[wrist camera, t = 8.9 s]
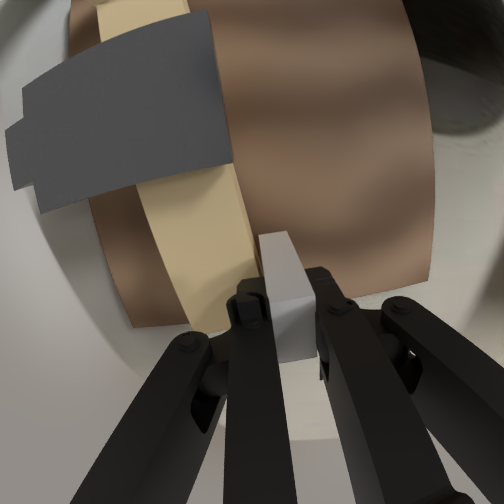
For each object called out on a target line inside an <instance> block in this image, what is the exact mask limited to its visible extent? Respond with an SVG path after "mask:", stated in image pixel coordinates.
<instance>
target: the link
mask: <svg viewBox="0 0 504 504" xmlns="http://www.w3.org/2000/svg"><path fill="white" fill-rule="evenodd" d="M87 1H88V2H89V3H91V4H92V5H93V6H95V7H96V8H97V15H98V23H99V31H100V38H101V43H102V42H104V41H106V40H108V39H111V38H113V37H115V36H118V35H120V34H123V33H125V32H128V31H131V30H133V29H136V28H139V27H142V26H145V25H148V24H151V23H154V22H157V21H160V20H164V19H167V18H171V17H175V16H178V15H182V14H186V13H190V10H189V6H188V3H187V0H87ZM136 187H137V190H138V193H139V196H140V199H141V202H142V205H143V208H144V211H145V214H146V217H147V220H148V222H149V225H150V228H151V231H152V233H153V236H154V239H155V241H156V244H157V247H158V249H159V252H160V254H161V257H162V259H163V262H164V264H165V267H166V269H167V272H168V274H169V277H170V279H171V281H172V284H173V286H174V289H175V291H176V293H177V296H178V298H179V300H180V302H181V305H182V307H183V309H184V311H185V314H186V316H187V318H188V320H189V322H190V324H191V327H192V329H193V331H199V332H203V333H204V334H207V333H212V332H218V331H223V330H228V329H230V328H231V324H230V320H229V316H228V311H227V307H226V303H227V300H228V299H229V298H230V297H232V296H233V295H235V294H237V293H236V291H237V285H238V284H239V282H240V281H241V280H242V279H248V278H255V277H261V276H264V275H263V271H262V267H261V264H260V260H259V256H258V253H257V249H256V245H255V242H254V238H253V234H252V231H251V227H250V223H249V220H248V216H247V212H246V209H245V205H244V201H243V198H242V194H241V191H240V187H239V183H238V180H237V176H236V172H235V169H234V165H233V163H231V164H225V165H220V166H214V167H209V168H204V169H199V170H194V171H189V172H185V173H180V174H175V175H171V176H167V177H162V178H158V179H154V180H150V181H146V182H142V183H138V184H136Z"/></svg>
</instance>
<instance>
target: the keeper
mask: <svg viewBox="0 0 504 504" xmlns="http://www.w3.org/2000/svg"><path fill="white" fill-rule="evenodd" d="M22 97H23V115H24V118H22V119H21V120H19V121H18V122H16V123H15V124H14V125H12V126H11V127H9V128H8V129H7V130H5V137H6V145H7V154H8V161H9V167H10V173H11V178H12V183H13V188H14V191H15V190H18V189H21V188H24V187H27V186H30V185H34V189H35V194H36V198H37V202H38V206H39V210H40V213H41V214H43V213H45V212H48V211H51V210H54V209H57V208H59V207H62V206H65V205H68V204H71V203H74V202H77V201H80V200H83V199H86V198H89V197H93V196H96V195H99V194H103V193H106V192H109V191H113V190H116V189H120V188H123V187H127V186H131V185H134V184H138V183H142V182H146V181H150V180H154V179H158V178H162V177H167V176H171V175H175V174H180V173H185V172H189V171H194V170H199V169H204V168H209V167H214V166H220V165H225V164H231V163H233V162H234V156H233V150H232V144H231V138H230V132H229V126H228V120H227V114H226V108H225V103H224V97H223V91H222V85H221V79H220V73H219V67H218V61H217V55H216V49H215V43H214V37H213V31H212V25H211V21H210V18H209V14H208V11H207V9H205V10H200V11H195V12H191V13H186V14H182V15H178V16H175V17H171V18H167V19H164V20H160V21H157V22H154V23H151V24H148V25H145V26H142V27H139V28H136V29H133V30H131V31H128V32H125V33H123V34H120V35H118V36H115V37H113V38H111V39H108V40H106V41H104V42H102V43H99V44H97V45H95V46H93V47H91V48H89V49H87V50H85V51H83V52H81V53H79V54H77V55H75V56H73V57H71V58H69V59H68V60H66V61H64V62H62V63H61V64H59V65H57V66H55V67H54V68H52V69H50V70H49V71H47V72H46V73H44V74H42V75H41V76H39V77H38V78H36V79H35V80H33V81H32V82H30V83H29V84H28V85H26V86H25V87H23V88H22Z"/></svg>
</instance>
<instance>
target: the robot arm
mask: <svg viewBox="0 0 504 504" xmlns="http://www.w3.org/2000/svg"><path fill="white" fill-rule="evenodd" d="M259 242H260V249H261V256H262V263H263V270H264V276H261V277H255V278H248V279H242V280H241V281H240V282H239V284H238V285H237V291H236V293H237V294H235V295H233V296H232V297H230V298H229V299H228V300H227V303H226V307H227V311H228V316H229V320H230V324H231V328H230V329H229V330H228V331H227V332H225V333H223V334H221V335H219V336H216V337H213V338H210V339H209V338H208V336H207V335H206V334H204V333H203V332H199V331H189V332H186V333H182V334H180V335H179V336H177V337H175V338H174V339H173V340H172V341H171V343H170V344H169V346H168V347H167V349H166V350H165V352H164V353H163V355H162V356H161V358H160V359H159V361H158V362H157V364H156V365H155V367H154V369H153V370H152V372H151V373H150V375H149V376H148V378H147V379H146V381H145V383H144V384H143V386H142V387H141V389H140V391H139V392H138V394H137V395H136V397H135V398H134V400H133V401H132V403H131V404H130V406H129V408H128V409H127V411H126V412H125V414H124V415H123V417H122V419H121V420H120V422H119V423H118V425H117V427H116V428H115V430H114V431H113V433H112V435H111V436H110V438H109V439H108V441H107V443H106V444H105V446H104V448H103V449H102V451H101V453H100V454H99V456H98V457H97V459H96V461H95V462H94V464H93V466H92V467H91V469H90V471H89V472H88V474H87V475H86V477H85V479H84V480H83V482H82V484H81V485H80V487H79V489H78V490H77V492H76V494H75V495H74V497H73V499H72V500H71V502H70V504H186V503H187V500H188V498H189V495H190V493H191V490H192V488H193V485H194V483H195V480H196V478H197V475H198V473H199V470H200V467H201V465H202V462H203V460H204V457H205V455H206V452H207V449H208V447H209V444H210V441H211V439H212V436H213V433H214V431H215V428H216V425H217V423H218V420H219V417H220V415H221V412H222V409H223V406H224V404H225V401H226V398H227V409H226V432H225V433H226V434H225V459H224V490H223V504H297V496H296V488H295V480H294V472H293V465H292V458H291V450H290V443H289V435H288V428H287V421H286V413H285V406H284V399H283V392H282V385H281V378H280V371H279V363H285V362H291V361H297V360H303V359H309V358H314V357H317V349H318V352H319V356H320V380H324V383H325V386H326V390H327V393H328V397H329V401H330V404H331V408H332V411H333V415H334V419H335V422H336V426H337V430H338V433H339V437H340V441H341V445H342V449H343V452H344V456H345V460H346V464H347V468H348V472H349V476H350V480H351V484H352V488H353V493H354V497H355V501H356V504H475V503H474V501H473V500H472V498H470V497H469V496H468V495H467V494H465V493H461V492H457V491H456V490H455V489H454V488H453V487H452V485H451V483H450V481H449V478H448V476H447V473H446V471H445V469H444V466H443V464H442V462H441V459H440V457H439V455H438V453H437V451H436V448H435V446H434V444H433V442H432V440H431V437H430V435H429V433H428V431H427V429H428V430H429V431H430V432H431V433H432V435H433V436H434V437H435V438H436V439H437V440H438V442H439V443H440V444H441V445H442V446H443V447H444V449H445V450H446V451H447V452H448V453H449V454H450V456H451V457H452V458H453V459H454V460H455V461H456V462H457V464H458V465H459V466H460V467H461V468H462V470H463V471H464V472H465V473H466V474H467V476H468V477H469V478H470V479H471V480H472V481H473V482H474V484H475V485H476V486H477V487H478V488H479V490H480V491H481V492H482V493H483V494H484V496H485V497H486V498H487V499H488V501H489V502H490V503H491V504H504V368H503V367H502V366H501V365H499V364H498V363H497V362H496V361H494V360H493V359H492V358H491V357H489V356H488V355H487V354H486V353H484V352H483V351H482V350H481V349H479V348H478V347H477V346H475V345H474V344H473V343H472V342H470V341H469V340H468V339H466V338H465V337H464V336H462V335H461V334H460V333H458V332H457V331H456V330H454V329H453V328H452V327H450V326H449V325H448V324H446V323H445V322H444V321H442V320H441V319H440V318H438V317H437V316H435V315H434V314H433V313H431V312H430V311H429V310H427V309H426V308H424V307H423V306H422V305H420V304H419V303H417V302H416V301H414V300H412V299H410V298H408V297H403V296H394V297H391V298H388V299H386V300H385V301H384V302H383V304H382V307H381V309H380V310H368V309H360V308H359V306H358V304H357V303H356V302H355V301H354V300H351V299H349V298H345V296H344V295H343V293H342V291H341V289H340V288H339V286H338V284H337V283H336V281H335V279H334V278H333V276H332V275H331V273H330V271H329V270H327V269H325V268H324V267H322V266H319V267H313V268H307V269H304V268H303V266H302V264H301V261H300V259H299V257H298V255H297V253H296V250H295V248H294V246H293V244H292V241H291V239H290V237H289V235H288V233H287V231H281V232H275V233H268V234H262V235H259ZM410 350H411V351H412V352H413V353H414V354H415V355H416V356H414V355H413V354H411V353H410ZM426 428H427V429H426Z"/></svg>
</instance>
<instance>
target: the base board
mask: <svg viewBox="0 0 504 504" xmlns="http://www.w3.org/2000/svg"><path fill="white" fill-rule="evenodd" d="M187 3H188V6H189V10H190V13H191V12H195V11H200V10H205V9H207V11H208V14H209V18H210V21H211V25H212V31H213V37H214V43H215V49H216V55H217V61H218V67H219V73H220V79H221V85H222V91H223V97H224V103H225V108H226V114H227V120H228V126H229V132H230V138H231V144H232V150H233V156H234V162H233V165H234V169H235V172H236V176H237V180H238V183H239V187H240V191H241V194H242V198H243V201H244V205H245V209H246V212H247V216H248V220H249V223H250V227H251V231H252V234H253V238H254V242H255V245H256V249H257V253H258V256H259V260H260V264H261V267H262V271H263V275H264V270H263V263H262V256H261V249H260V242H259V235H262V234H268V233H275V232H281V231H287V233H288V235H289V237H290V239H291V241H292V244H293V246H294V248H295V250H296V253H297V255H298V257H299V259H300V261H301V264H302V266H303V268H304V269H307V268H313V267H319V266H322V267H324V268H325V269H327V270H329V271H330V273H331V275H332V276H333V278H334V279H335V281H336V283H337V284H338V286H339V288H340V289H341V291H342V293H343V295H344V296H345V298H349V299H351V298H356V297H361V296H366V295H370V294H375V293H379V292H384V291H388V290H392V289H397V288H401V287H405V286H409V285H413V284H417V283H421V282H425V281H428V277H429V270H430V262H431V253H432V242H433V229H434V210H435V168H434V149H433V136H432V126H431V118H430V110H429V103H428V97H427V91H426V85H425V80H424V75H423V70H422V66H421V62H420V57H419V53H418V50H417V46H416V42H415V39H414V35H413V32H412V29H411V25H410V22H409V19H408V16H407V14H406V11H405V8H404V5H403V3H402V0H187ZM99 43H101V38H100V31H99V23H98V15H97V8H96V7H95V6H93V5H92V4H91V3H89V2H88V1H87V0H71V9H70V25H69V58H71V57H73V56H75V55H77V54H79V53H81V52H83V51H85V50H87V49H89V48H91V47H93V46H95V45H97V44H99ZM88 199H89V203H90V207H91V211H92V215H93V218H94V222H95V225H96V229H97V232H98V235H99V239H100V242H101V245H102V248H103V251H104V254H105V257H106V260H107V263H108V266H109V269H110V271H111V274H112V277H113V280H114V282H115V285H116V287H117V290H118V293H119V295H120V298H121V300H122V303H123V305H124V307H125V310H126V312H127V314H128V317H129V319H130V321H131V324H132V326H133V328H139V327H153V326H165V325H176V324H186V323H190V322H189V320H188V318H187V316H186V314H185V311H184V309H183V307H182V305H181V302H180V300H179V298H178V296H177V293H176V291H175V289H174V286H173V284H172V281H171V279H170V277H169V274H168V272H167V269H166V267H165V264H164V262H163V259H162V257H161V254H160V252H159V249H158V247H157V244H156V241H155V239H154V236H153V233H152V231H151V228H150V225H149V222H148V220H147V217H146V214H145V211H144V208H143V205H142V202H141V199H140V196H139V193H138V190H137V187H136V184H134V185H131V186H127V187H123V188H120V189H116V190H113V191H109V192H106V193H103V194H99V195H96V196H93V197H89V198H88Z"/></svg>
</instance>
